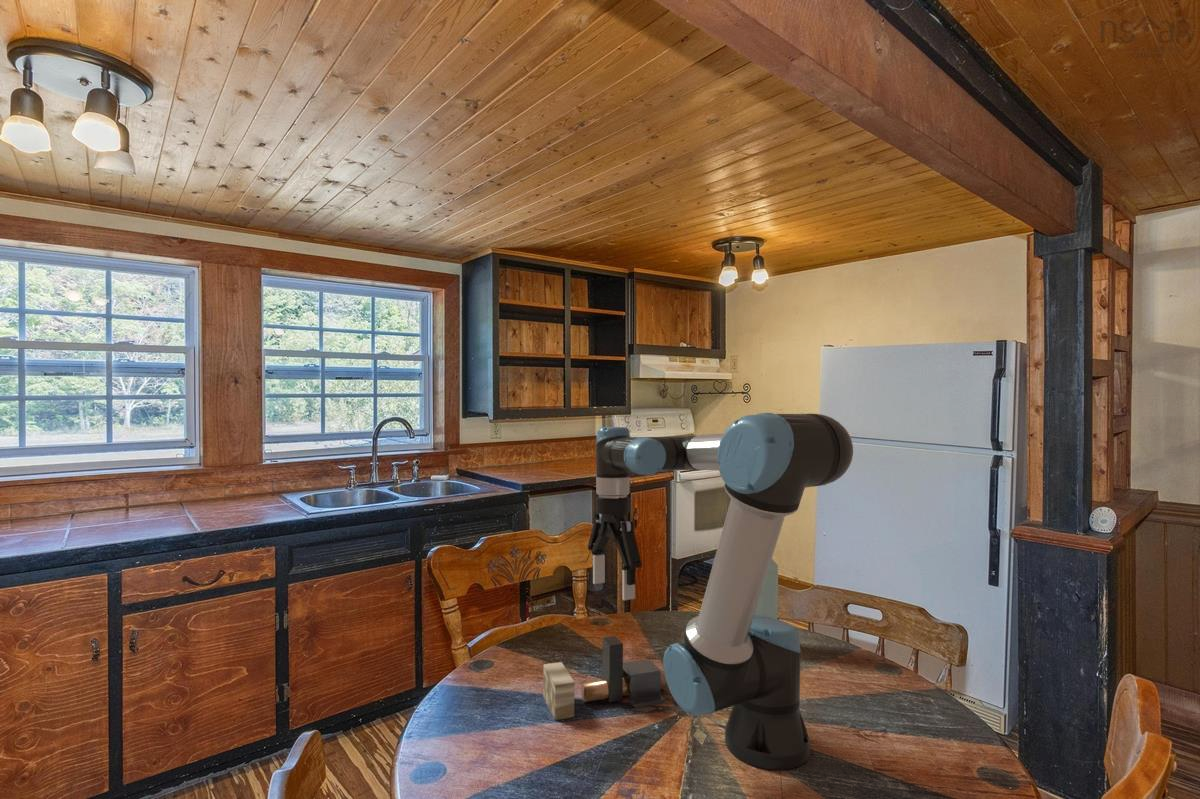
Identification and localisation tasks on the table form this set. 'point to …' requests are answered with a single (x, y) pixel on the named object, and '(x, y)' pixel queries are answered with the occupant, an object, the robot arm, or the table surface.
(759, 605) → the water bottle
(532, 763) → the table surface
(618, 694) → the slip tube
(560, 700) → the socket block
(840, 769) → the table surface
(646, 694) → the grey block
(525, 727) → the table surface
